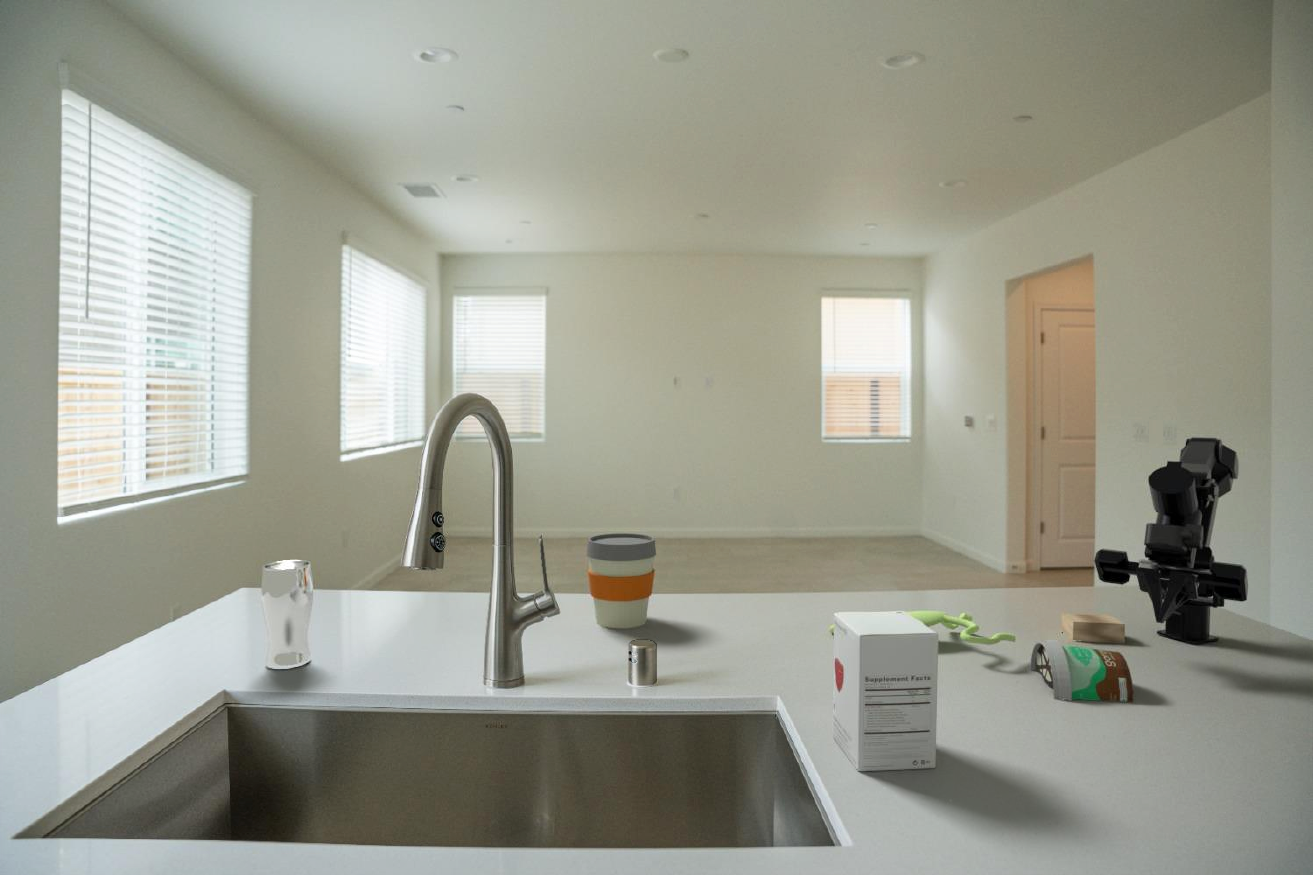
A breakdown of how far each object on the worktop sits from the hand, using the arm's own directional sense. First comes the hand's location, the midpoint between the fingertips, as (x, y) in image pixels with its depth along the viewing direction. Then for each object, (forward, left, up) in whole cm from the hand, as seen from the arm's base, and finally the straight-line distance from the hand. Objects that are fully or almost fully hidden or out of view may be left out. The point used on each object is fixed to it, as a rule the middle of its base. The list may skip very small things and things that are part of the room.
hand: (1159, 621), depth 110 cm
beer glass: (+118, -51, -8) cm, 129 cm away
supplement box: (+53, +5, -8) cm, 54 cm away
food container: (+10, +2, -5) cm, 11 cm away
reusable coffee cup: (+64, -54, -8) cm, 84 cm away
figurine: (+23, -23, -9) cm, 34 cm away
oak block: (-7, -16, -8) cm, 20 cm away
